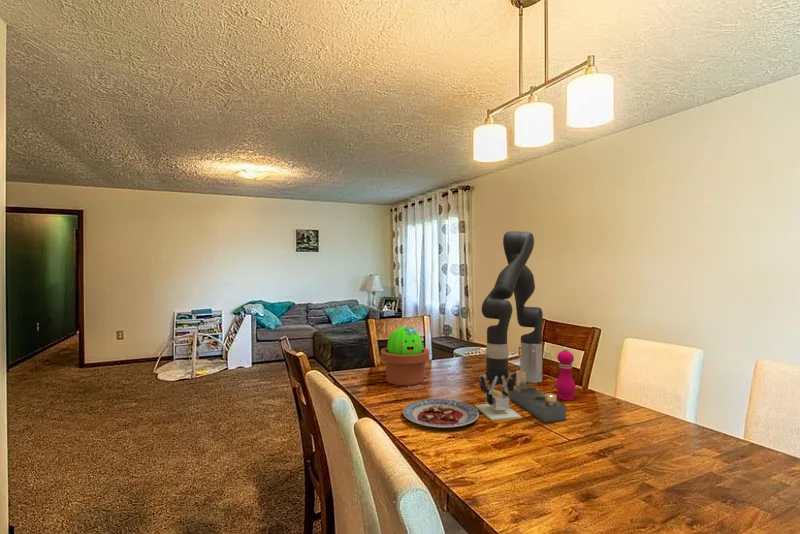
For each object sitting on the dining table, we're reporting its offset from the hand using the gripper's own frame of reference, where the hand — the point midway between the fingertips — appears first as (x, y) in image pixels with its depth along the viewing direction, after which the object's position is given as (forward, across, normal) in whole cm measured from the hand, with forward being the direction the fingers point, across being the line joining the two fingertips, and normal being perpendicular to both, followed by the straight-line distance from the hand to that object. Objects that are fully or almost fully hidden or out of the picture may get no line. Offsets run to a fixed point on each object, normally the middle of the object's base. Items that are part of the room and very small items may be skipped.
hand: (497, 403), depth 140 cm
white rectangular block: (+1, 0, 0) cm, 1 cm away
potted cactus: (+3, +23, -46) cm, 51 cm away
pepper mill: (+3, -33, -8) cm, 34 cm away
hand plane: (+3, -15, 0) cm, 15 cm away
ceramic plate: (+4, +21, 0) cm, 21 cm away
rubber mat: (+3, 0, 0) cm, 3 cm away
